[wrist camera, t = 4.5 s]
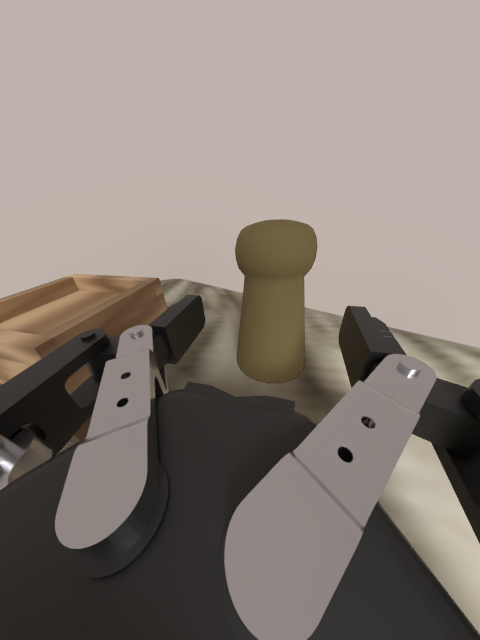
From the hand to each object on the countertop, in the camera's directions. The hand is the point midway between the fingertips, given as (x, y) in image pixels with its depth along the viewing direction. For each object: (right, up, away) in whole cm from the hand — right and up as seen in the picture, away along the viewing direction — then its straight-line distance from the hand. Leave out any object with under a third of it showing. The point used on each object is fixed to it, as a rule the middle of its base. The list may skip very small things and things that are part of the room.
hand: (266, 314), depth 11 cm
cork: (+1, -4, +7) cm, 8 cm away
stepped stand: (-16, -4, +8) cm, 18 cm away
